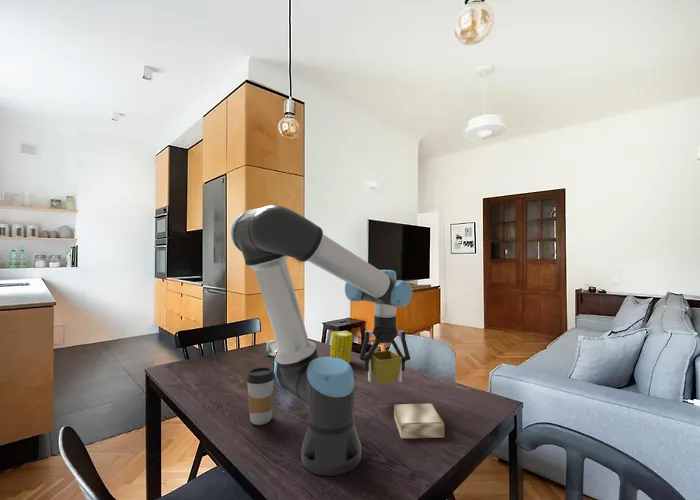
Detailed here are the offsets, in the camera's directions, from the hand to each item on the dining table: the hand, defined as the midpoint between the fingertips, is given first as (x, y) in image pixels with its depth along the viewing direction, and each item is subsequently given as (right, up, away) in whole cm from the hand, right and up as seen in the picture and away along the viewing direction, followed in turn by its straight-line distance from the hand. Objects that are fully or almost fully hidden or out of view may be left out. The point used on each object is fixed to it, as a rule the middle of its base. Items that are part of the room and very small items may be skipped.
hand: (384, 380), depth 115 cm
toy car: (-43, -8, +49) cm, 66 cm away
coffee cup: (-39, -8, -12) cm, 42 cm away
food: (-16, -7, +38) cm, 42 cm away
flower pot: (0, 0, 0) cm, 0 cm away
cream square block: (+8, -7, -16) cm, 20 cm away
